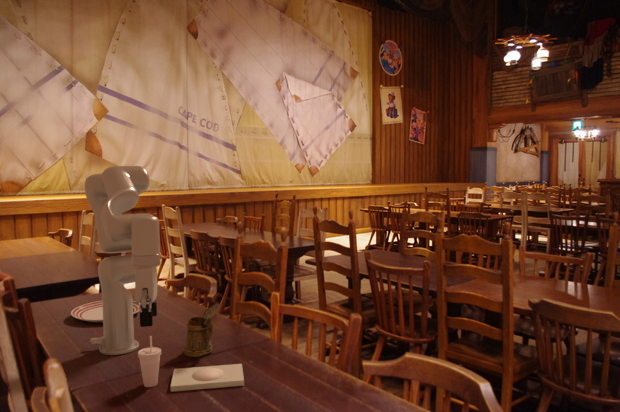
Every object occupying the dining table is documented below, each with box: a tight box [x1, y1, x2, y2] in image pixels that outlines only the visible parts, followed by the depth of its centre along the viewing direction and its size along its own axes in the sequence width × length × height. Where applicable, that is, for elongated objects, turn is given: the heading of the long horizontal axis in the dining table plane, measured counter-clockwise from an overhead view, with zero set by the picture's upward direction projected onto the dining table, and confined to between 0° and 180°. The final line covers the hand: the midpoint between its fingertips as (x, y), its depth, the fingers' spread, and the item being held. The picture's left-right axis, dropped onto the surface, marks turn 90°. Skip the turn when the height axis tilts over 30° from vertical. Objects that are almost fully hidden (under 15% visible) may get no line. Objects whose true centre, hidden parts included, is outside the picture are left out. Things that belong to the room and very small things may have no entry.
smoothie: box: [137, 335, 162, 388], centre depth 143 cm, size 6×6×14 cm
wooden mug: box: [183, 302, 220, 358], centre depth 166 cm, size 9×14×18 cm, turn 55°
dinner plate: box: [70, 300, 140, 323], centre depth 209 cm, size 27×27×3 cm
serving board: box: [170, 363, 245, 392], centre depth 146 cm, size 20×12×2 cm, turn 100°
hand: (148, 321), depth 142 cm, fingers open, 9 cm apart
